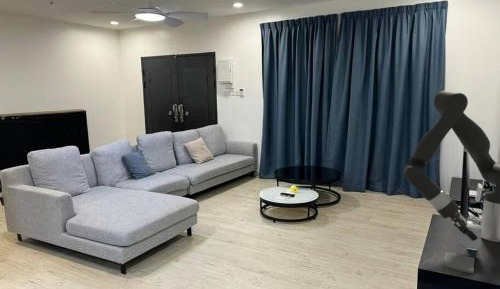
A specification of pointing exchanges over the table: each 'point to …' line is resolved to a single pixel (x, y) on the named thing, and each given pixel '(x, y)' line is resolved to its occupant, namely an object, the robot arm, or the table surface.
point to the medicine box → (466, 241)
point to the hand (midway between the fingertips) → (474, 236)
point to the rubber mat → (458, 262)
